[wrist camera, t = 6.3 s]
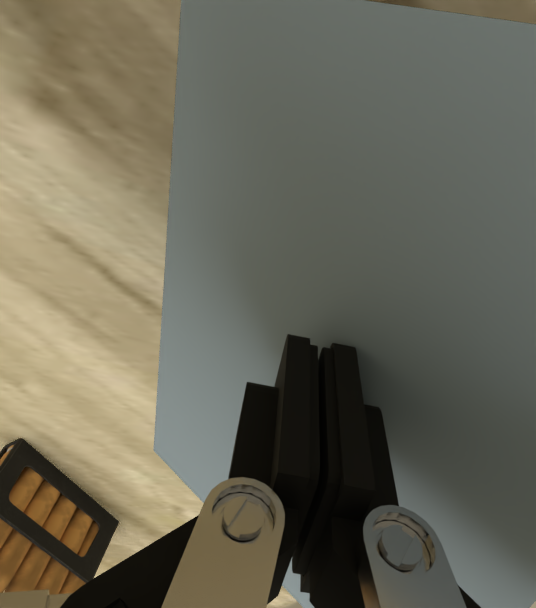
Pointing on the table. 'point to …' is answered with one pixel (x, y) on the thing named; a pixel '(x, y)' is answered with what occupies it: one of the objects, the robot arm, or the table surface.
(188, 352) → the lid
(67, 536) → the ammunition clip
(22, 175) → the table surface
